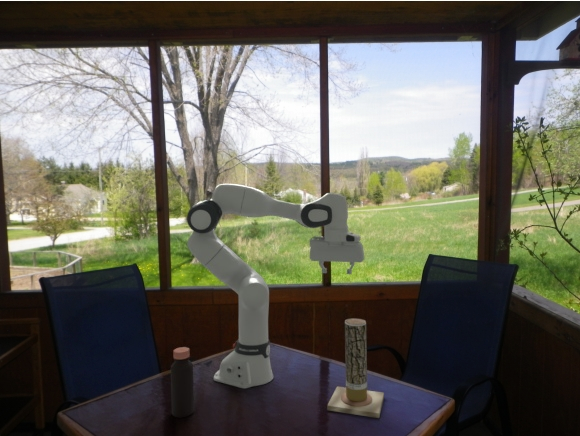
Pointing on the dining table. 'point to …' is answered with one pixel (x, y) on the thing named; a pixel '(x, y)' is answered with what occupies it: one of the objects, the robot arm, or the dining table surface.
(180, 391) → the bottle
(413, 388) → the dining table surface
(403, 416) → the dining table surface
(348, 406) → the holder board
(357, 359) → the bark print tube
